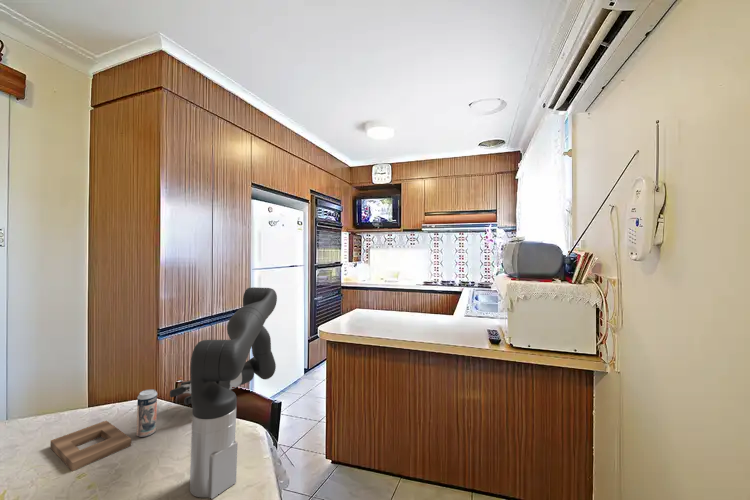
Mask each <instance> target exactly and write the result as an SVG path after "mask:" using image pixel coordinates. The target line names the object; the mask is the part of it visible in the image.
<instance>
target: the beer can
mask: <svg viewBox="0 0 750 500" xmlns="http://www.w3.org/2000/svg"><path fill="white" fill-rule="evenodd" d="M157 404H158V392H157V390H156V389H144V390H142V391H140V392H139V394H138V396H137V406H136V407H137V408H136V436H137V437H140V438H144V437H145V438H146V437H149V436H151V435H153V434H154V433H155V432H156V431H157V413H158V412H157V410H158V409H157V407H158V406H157Z"/></svg>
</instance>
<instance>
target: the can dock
mask: <svg viewBox="0 0 750 500" xmlns="http://www.w3.org/2000/svg"><path fill="white" fill-rule="evenodd" d="M99 438H102V439H104V440H102V441H99V442H97V443H94V444H92V445H89V446H87V447H84V448H82V449H80V448H78V447H79V446H81V445H84V444H86V443H90V442H92V441H94V440H97V439H99ZM131 446H132V437H130V436H128V435H127V434H126V433H124V432H123V431H122V430H120V429H119V428H117V427H116V426H115V425H114V424H112V423H111V422H109V421H108V420H104V421H101V422H99V423H96V424H92V425H89V426H87V427H85V428H82V429H79V430H75V431H73V432H71V433H68V434H65V435H64V434H63V436H62V435H61V436H60V437H56V438H52V439H50V447H49V448H50V449H51V450H52V452H53V453H55V455H57V457H58V458H59V459H60V460H61V461H62V462H63V463H64V464H65V465H66V466H67V468H69V469H70V470H71V471H72V472H74V471H77V470H79V469H80V468H81V469H82V468H84V467H85V466H88V465H90V464H92V463H93V464H94V462H97V461H99V460H102V459H104V458H106V457H108V456H110V455H113V454H115V453H117V452H120V451H123V450H124V449H126V448H128V447H131Z"/></svg>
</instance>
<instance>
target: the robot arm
mask: <svg viewBox="0 0 750 500" xmlns="http://www.w3.org/2000/svg"><path fill="white" fill-rule="evenodd" d="M277 302H278V296H277V292H276V291H275V289H274V288H270V287H256V286H255V287H254V286H253V287H247V288H246V289H245V290H244V293H243V297H242V307H240V308H239V309H237V310H236V311H235V313H233V315H232V316H231V317H230V318H229V320H228V321H227V324H226V332H227V335H228V338H229V339H202V340H199V342H197V344H196V345H195V346H194V348H193V350H192V352H191V353H192V354H191V357H190V358H191V359H190V380H188V381H184V382H181V383H180V386H179V387H175V388H173V389H170V391H169V397H170V398H174V397H178V396H180V395H183V394H190V395H187V396H185V397H184V398H183V404H184V406H188V405H190V404H191V409H192V412H191V413H192V415H191V436H190V438H191V439H190V440H191V443H190V470H189V475H190V476H189V491H190V493H191V495H192V496H194V497H196V498H208V499H210V498H211V500H212V499H215V498H216V497H217V496H219V495H220V494H222V493H223V492H224V491H226V490H228V489H229V488H230V487H232V486H233V485H235V484H236V483H237V475H238V474H237V468H238V467H237V466H238V442H237V441H236V427H237V405H238V404H237V403H238V401H237V400H238V399H237V395H236V393H235V392H234V391H233V390H234V389H236V388H237V387H240V386H242V385H244V384H247V383H250V382H251V381H252V380H253V379H254V378H255V377H254V376H255V375H256V376H258V377H259V378H260V379H262V380H269V379H271V378H272V377H273V376H274V374H275V372H276V367H277V364H276V360H275V358H274V353H273V352H272V341H271V335H270V332H269V331H268V330H267V328H266V327H265V326H264V325H265V323H266V321H267V319H268V318H269V317H270V316H271V315H272V313H273V312H274V310H275V308H276V306H277ZM250 352H251V353H252V358H250V359H248V358H249V355H250ZM247 359H248V360H247ZM232 387H235V388H232ZM218 494H219V495H218Z"/></svg>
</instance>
